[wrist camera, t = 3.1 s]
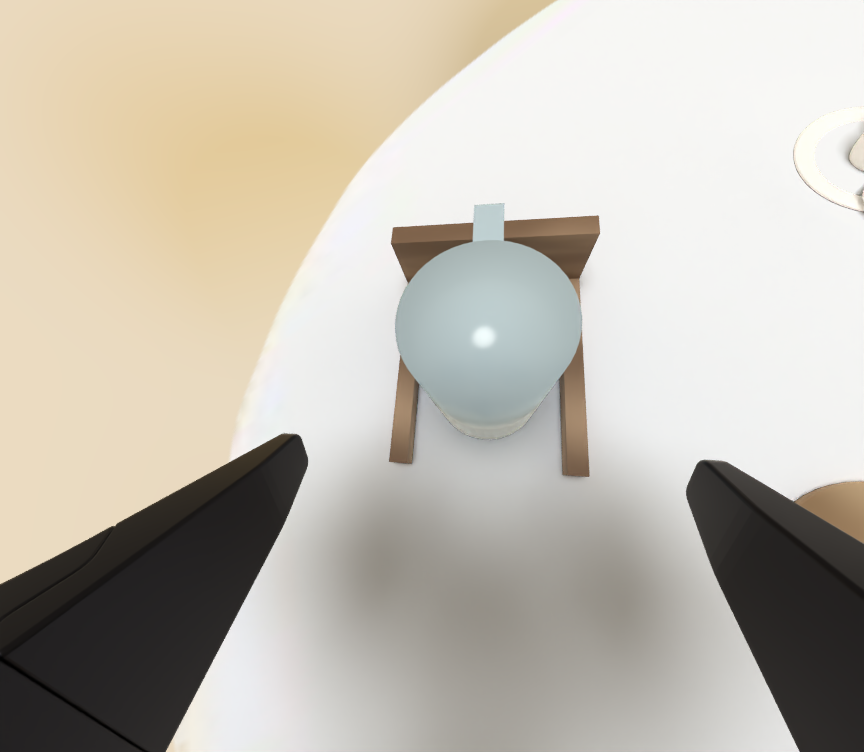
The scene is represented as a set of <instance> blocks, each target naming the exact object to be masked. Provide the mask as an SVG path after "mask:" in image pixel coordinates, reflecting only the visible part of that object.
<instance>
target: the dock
mask: <svg viewBox="0 0 864 752" xmlns="http://www.w3.org/2000/svg"><path fill="white" fill-rule="evenodd" d="M599 234H600V227H599V216H583V217H566V218H549V219H531V220H514V221H504V241H509V242H514V243H518V244H522V245H524V246H527V247H530V248H532V249H534V250H536V251H538V252H540V253H542V254H543V255H545V256H546V257H548V258H549V259H551V260H552V261H553V262H554V263H555V264H556V265H558V266H559V267H560V268H561V270H562V271H563V272H564V273H565V274H566V275H567V277H568V278H569V280H570V282H571V283H572V285H573V287H574V289H575V291H576V293H577V296H578V299H579V303H580V286H579V278H580V275H581V273H582V271H583V269H584V267H585V265H586V262H587V260H588V258H589V256H590V254H591V252H592V249H593V247H594V245H595V243H596V241H597V239H598V236H599ZM470 242H473V223H462V224H444V225H427V226H410V227H393V232H392V240H391V244H392V247H393V249H394V251H395V254H396V256H397V258H398V261H399V263H400V265H401V268H402V270H403V272H404V275H405V277H406V279H407V282H408V284H409V282H410V281H411V279H412V278H413V277H414V276H415V274H416V273H417V272H418V271H419V270H420V269H421V268H422V267H423V266H424V265H425V264H426V263H428V262H429V261H430V260H432V259H433V258H434V257H436V256H438V255H439V254H441V253H443V252H444V251H447V250H449V249H451V248H453V247H456V246H459V245H462V244H465V243H470ZM580 306H581V305H580ZM418 388H419V383H418V382H417V381H416V379H415V378H414V377H413V375H412V374H411V373H410V372H409V370H408V369H407V367H406V365H405V363H404V362H403V360H402V357H401V355H400V363H399V373H398V382H397V392H396V401H395V411H394V420H393V430H392V439H391V449H390V458H389V462H398V463H412V457H413V445H414V434H415V422H416V411H417V400H418ZM560 404H561V436H562V468H563V475H571V476H585V477H589V458H588V439H587V420H586V401H585V382H584V363H583V344H582V331H581V336H580V341H579V344H578V347H577V350H576V353H575V355H574V357H573V359H572V361H571V363H570V364H569V366H568V367H567V368H566V370H565V371H564V373H563V374H562V375H561V377H560Z"/></svg>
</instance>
